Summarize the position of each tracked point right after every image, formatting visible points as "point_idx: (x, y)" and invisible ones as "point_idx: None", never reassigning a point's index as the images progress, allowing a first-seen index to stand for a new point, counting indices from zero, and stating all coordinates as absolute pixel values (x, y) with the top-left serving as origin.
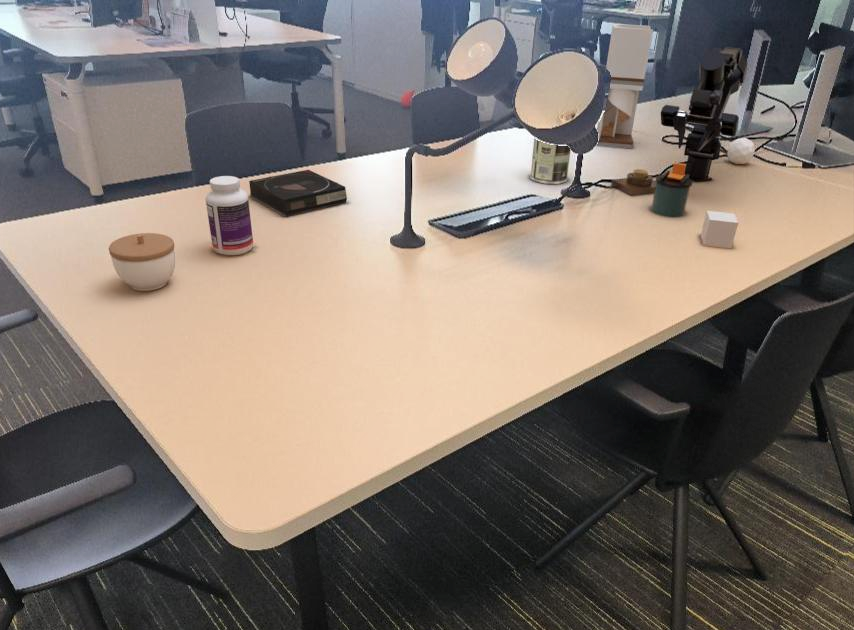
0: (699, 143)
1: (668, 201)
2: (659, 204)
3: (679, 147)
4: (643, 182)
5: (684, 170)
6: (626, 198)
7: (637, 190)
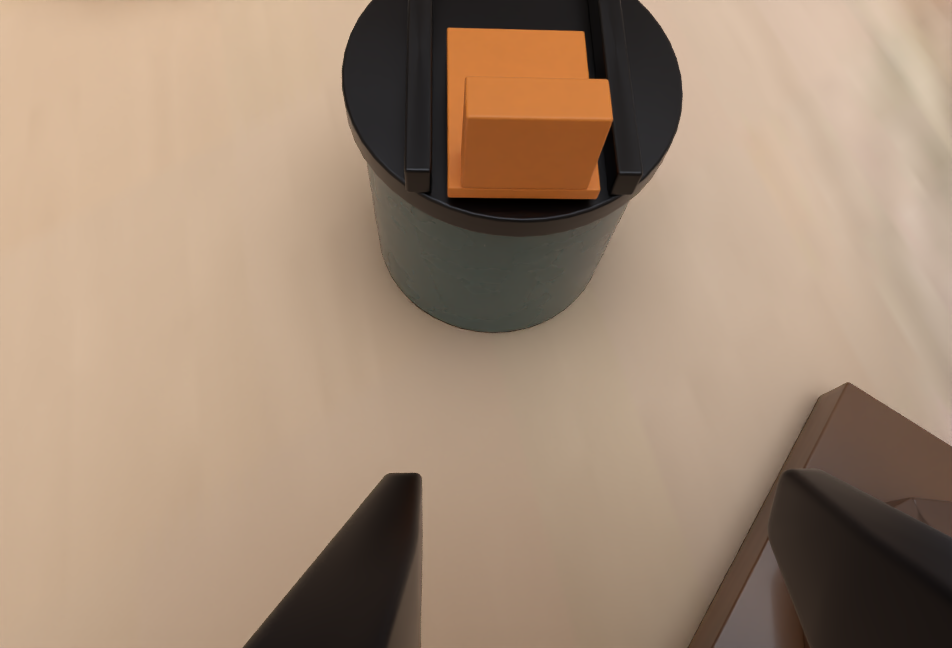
0: (408, 531)
1: None
2: None
3: (783, 499)
4: None
5: (462, 127)
6: (818, 322)
7: (820, 425)
